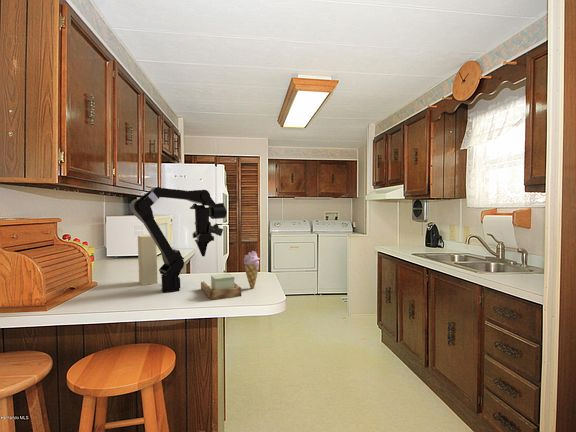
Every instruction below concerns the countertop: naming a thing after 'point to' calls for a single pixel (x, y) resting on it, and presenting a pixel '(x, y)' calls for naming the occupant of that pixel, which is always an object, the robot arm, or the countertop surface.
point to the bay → (220, 292)
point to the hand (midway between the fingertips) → (203, 256)
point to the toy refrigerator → (147, 260)
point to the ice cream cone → (251, 267)
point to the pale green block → (222, 281)
